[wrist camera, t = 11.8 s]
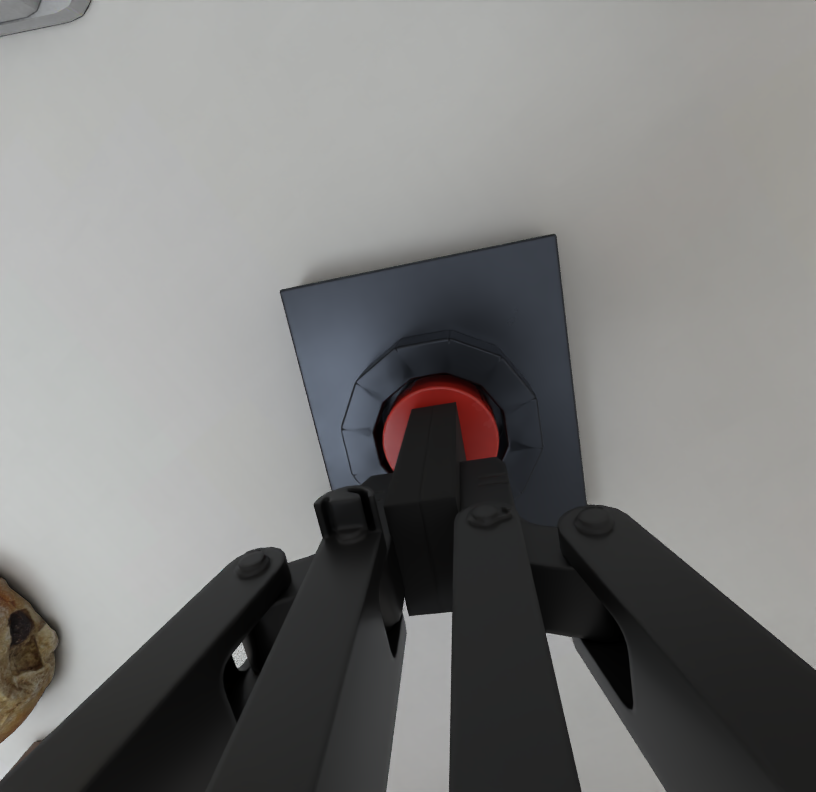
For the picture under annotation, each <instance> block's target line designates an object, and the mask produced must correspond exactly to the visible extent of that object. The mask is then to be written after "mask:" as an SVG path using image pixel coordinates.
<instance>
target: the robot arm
mask: <svg viewBox="0 0 816 792" xmlns="http://www.w3.org/2000/svg"><path fill="white" fill-rule="evenodd" d="M314 508H315V512H316V515H317V519H318V523H319V526H320V530H321V534H322V537H323V539H322V541H321V543H320V545H319V547H318V550H317V552H316V554H314V555H311V556H308V557H305V558H302V559H299V560H296V561H293V562H290V563H288V562H287V559H286V556H285V553H284V552H283V551H282V550H281V549H279V548H274V547H267V548H257V549H255V550H254V549H253V550H251V551H248V552H246V553H245V554H243V555H241V556H239V557H237V558H236V559H235V560H233V561H232V562H231V563H229V564H228V565H227V566H226V567H225V568H224V569H223V570H222V571H221V572H220V573H219V574H218V575H217V576H215V577H214V578H213V579H212V580H211V581H210V582H209V583H208V584H207V585H206V586H205V587H204V588H203V589H202V590H201V591H200V592H199V593H198V594H197V595H196V596H194V597H193V598H192V599H191V600H190V601H189V602H188V603H187V604H186V605H185V606H184V607H183V608H182V609H181V610H180V611H179V612H178V613H177V614H176V615H174V616H173V617H172V618H171V619H170V620H169V621H168V622H167V623H166V624H165V625H164V626H163V627H162V628H161V629H160V630H159V631H158V632H157V633H156V634H154V635H153V636H152V637H151V638H150V639H149V640H148V641H147V642H146V643H145V644H144V645H143V646H142V647H141V648H140V649H139V650H138V651H137V652H136V653H134V654H133V655H132V656H131V657H130V658H129V659H128V660H127V661H126V662H125V663H124V664H123V665H122V666H121V667H120V668H119V669H118V670H117V671H116V672H115V673H113V674H112V675H111V676H110V677H109V678H108V679H107V680H106V681H105V682H104V683H103V684H102V685H101V686H100V687H99V688H98V689H97V690H96V691H95V692H93V693H92V694H91V695H90V696H89V697H88V698H87V699H86V700H85V701H84V702H83V703H82V704H81V705H80V706H79V707H78V708H77V709H76V710H75V711H73V712H72V713H71V714H70V715H69V716H68V717H67V718H66V719H65V720H64V721H63V722H62V723H61V724H60V725H59V726H58V727H57V728H56V729H55V730H54V731H52V732H51V733H50V734H49V735H48V736H47V737H46V738H45V739H44V740H43V741H42V742H41V743H40V744H39V745H38V746H37V747H36V748H35V749H34V750H32V751H31V752H30V753H29V754H28V755H27V756H26V757H25V758H24V759H23V760H22V761H21V762H20V763H19V764H18V765H17V766H16V767H15V768H14V769H12V770H11V771H10V772H9V773H8V774H7V775H6V776H5V777H4V778H3V779H2V780H1V781H0V792H386V788H387V781H388V773H389V765H390V757H391V750H392V742H393V734H394V726H395V719H396V711H397V703H398V696H399V688H400V680H401V672H402V665H403V657H404V649H405V641H406V634H407V633H406V625H405V621H404V617H403V613H402V610H403V603H404V597H405V601H406V605H407V610H408V614H409V616H414V615H424V614H435V613H445V612H452V660H451V716H450V771H449V792H581V787H580V783H579V778H578V774H577V770H576V765H575V761H574V756H573V752H572V748H571V743H570V739H569V734H568V730H567V726H566V721H565V717H564V712H563V708H562V703H561V699H560V695H559V690H558V686H557V681H556V677H555V673H554V668H553V664H552V659H551V655H550V651H549V646H548V642H547V637H546V633H551V634H557V635H563V636H569V637H572V639H573V642H574V645H575V648H576V650H577V651H578V653H579V655H580V656H581V658H582V659H583V661H584V662H585V664H586V666H587V667H588V669H589V670H590V672H591V673H592V675H593V677H594V678H595V680H596V681H597V683H598V684H599V686H600V688H601V689H602V691H603V692H604V694H605V695H606V697H607V699H608V700H609V702H610V703H611V705H612V706H613V708H614V710H615V711H616V713H617V714H618V716H619V717H620V719H621V721H622V722H623V724H624V725H625V727H626V728H627V730H628V732H629V733H630V735H631V736H632V738H633V739H634V741H635V743H636V744H637V746H638V747H639V749H640V750H641V752H642V754H643V755H644V757H645V758H646V760H647V761H648V763H649V765H650V766H651V768H652V769H653V771H654V772H655V774H656V776H657V777H658V779H659V780H660V782H661V784H662V785H663V787H664V788H665V790H666V791H667V792H816V670H815V669H814V668H812V667H811V666H810V665H809V664H808V663H806V662H805V661H804V660H803V659H802V658H800V657H799V656H798V655H797V654H796V653H794V652H793V651H792V650H791V649H789V648H788V647H787V646H786V645H785V644H783V643H782V642H781V641H780V640H779V639H777V638H776V637H775V636H774V635H773V634H771V633H770V632H769V631H768V630H766V629H765V628H764V627H763V626H762V625H760V624H759V623H758V622H757V621H756V620H754V619H753V618H752V617H751V616H750V615H748V614H747V613H746V612H745V611H744V610H742V609H741V608H740V607H739V606H737V605H736V604H735V603H734V602H733V601H731V600H730V599H729V598H728V597H727V596H725V595H724V594H723V593H722V592H721V591H719V590H718V589H717V588H716V587H715V586H713V585H712V584H711V583H710V582H708V581H707V580H706V579H705V578H704V577H702V576H701V575H700V574H699V573H698V572H696V571H695V570H694V569H693V568H692V567H690V566H689V565H688V564H687V563H685V562H684V561H683V560H682V559H681V558H679V557H678V556H677V555H676V554H675V553H673V552H672V551H671V550H670V549H669V548H667V547H666V546H665V545H664V544H663V543H661V542H660V541H659V540H658V539H656V538H655V537H654V536H653V535H652V534H650V533H649V532H648V531H647V530H646V529H644V528H643V527H642V526H641V525H640V524H638V523H637V522H636V521H635V520H633V519H632V518H631V517H630V516H629V515H627V514H626V513H624V512H622V511H620V510H618V509H616V508H612V507H608V506H603V505H586V506H581V507H576V508H574V509H571V510H569V511H566V512H565V513H564V514H563V515H562V516H560V517H559V520H558V524H557V527H553V526H543V525H537V524H534V523H530V522H528V521H526V520H524V519H523V518H522V517H520V516H519V514H518V512H517V510H516V508H515V503H514V499H513V495H512V490H511V486H510V482H509V477H508V472H507V468H506V464H505V463H504V462H503V461H501V460H500V459H499V458H497V457H490V458H483V459H476V460H469V461H467V460H466V455H465V449H464V444H463V438H462V433H461V427H460V421H459V416H458V410H457V405H456V402H452V403H446V404H440V405H434V406H428V407H421V408H415V409H411V413H410V416H409V420H408V423H407V427H406V430H405V434H404V437H403V441H402V444H401V447H400V451H399V454H398V458H397V461H396V465H395V468H394V472H393V473H387V474H380V475H373V476H370V477H369V478H368V479H367V480H366V481H365V482H363V483H362V484H361V485H353V486H346V487H342V488H338V489H335V490H333V491H330V492H328V493H326V494H325V495H323V496H321V497H320V498H319V499H318V500H317V501H316V502H315V503H314ZM241 642H242V643H243V646H244V649H245V652H246V655H247V657H248V658H247V660H246V661H245V662H244V664H243V665H242V666H240V667H239V668H237V667H236V666H235V663H234V660H233V657H232V653H233V652H234V651H235V650H236V648H237V647H238V646H239V645H240V644H241Z"/></svg>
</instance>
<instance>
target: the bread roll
mask: <svg viewBox="0 0 816 792" xmlns="http://www.w3.org/2000/svg"><path fill="white" fill-rule="evenodd" d="M58 644H59V641H58V636H57V635H56V631H54V630H52V629H51V628H50V627H49V625H48V624H47V623H46V622H45V621H44V620H43V619H42V618H41V616H40V615H39V614H38V613H37V612H36V611H35V610H34V609H33V607H32V606H31V605H30V603H29V602H28V601H27V600H25V599H24V598H23V597H21V596H20V595H19V594H18V593H16V592H15V591H14V590H12V589H11V588H10V587H9V586H8V584H7V582H6V580H5V579H3V578H1V577H0V743H1V742H3V741H4V740H5V739H6V738H7V737H8V736H9V735H11V734H12V733H13V732H14V731H15V730H16V729H17V728H18V727H19V726H20V725H21V724H22V723H23V721H24V720H25V719H26V718H27V717H28V715H29V714H30V713H31V712H32V710H33V709H34V707H35V706H36V704H37V702H38V701H39V699H40V697H41V696H42V694H43V692H44V691H45V688H46V687H47V686H48V685H49V683H50V682H51V680H52V678H53V675H54V673H55V655H54V650H55V649H56V647H57V646H58Z"/></svg>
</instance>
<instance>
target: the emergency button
mask: <svg viewBox="0 0 816 792" xmlns="http://www.w3.org/2000/svg"><path fill="white" fill-rule="evenodd" d="M89 3H90V0H0V36H3V35H8V34H13V33H18V32H23V31H28V30H33V29H37V28H42V27H47V26H52V25H57V24H62V23H67V22H71V21H73V20H74V19H76V18H78V17H80V16H82V15H83V14H84V12H85V10H86V8H87V7H88V5H89Z"/></svg>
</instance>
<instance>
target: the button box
mask: <svg viewBox="0 0 816 792" xmlns="http://www.w3.org/2000/svg"><path fill="white" fill-rule="evenodd" d="M280 295H281V298H282V302H283V306H284V310H285V314H286V318H287V321H288V325H289V329H290V333H291V337H292V341H293V344H294V348H295V352H296V356H297V360H298V364H299V367H300V371H301V375H302V379H303V383H304V387H305V390H306V394H307V398H308V402H309V406H310V410H311V413H312V417H313V421H314V425H315V429H316V433H317V436H318V440H319V444H320V448H321V452H322V455H323V459H324V463H325V467H326V471H327V475H328V478H329V482H330V486H331V490H332V491H333V490H335V489H338V488H342V487H346V486H353V485H361V484H362V483H363V482H365V481H366V480H367V479H368V478H369V477H370V476H373V475H380V474H387V473H393V472H394V471H393V470H392V468H391V467H390V465H389V464H388V461H387V459H386V457H385V453H384V450H383V440H382V436H383V429H384V425H385V422H386V419H387V417H388V415H389V412H390V410H391V407H392V405H393V403H394V401H395V399H396V398H397V396H398V395H399V394H400V393H401V391H402V390H404V389H405V388H406V387H407V386H408V385H410V384H411V383H413V382H414V381H416V380H418V379H421V378H423V377H429V376H435V375H451V376H454V377H457V378H460V379H463V380H466V381H468V382H470V383H472V384H473V385H475V386H476V387H477V388H479V389H480V390H481V391H482V392H483V394H484V395H485V396H486V397H487V399H488V400H489V402H490V404H491V406H492V409H493V411H494V415H495V420H496V424H497V428H498V433H499V449H498V455H497V458H499V459H500V460H501V461H503V462H504V463H505V464H506V468H507V472H508V477H509V482H510V486H511V490H512V495H513V499H514V503H515V508H516V510H517V512H518V514H519V516H520V517H522V518H523V519H524V520H526V521H528V522H530V523H534V524H537V525H543V526H553V527H557V524H558V520H559V517H560V516H562V515H563V514H564V513H565V512H566V511H569V510H571V509H574V508H576V507H581V506H586V505H587V501H586V492H585V483H584V475H583V466H582V457H581V448H580V439H579V431H578V422H577V413H576V404H575V395H574V387H573V378H572V369H571V360H570V351H569V343H568V334H567V325H566V316H565V307H564V299H563V290H562V281H561V272H560V263H559V255H558V246H557V237H556V234H550V235H545V236H540V237H535V238H530V239H526V240H521V241H516V242H511V243H506V244H501V245H496V246H491V247H487V248H482V249H477V250H472V251H467V252H462V253H457V254H452V255H448V256H443V257H438V258H433V259H428V260H423V261H418V262H413V263H409V264H404V265H399V266H394V267H389V268H384V269H379V270H374V271H370V272H365V273H360V274H355V275H350V276H345V277H340V278H335V279H331V280H326V281H321V282H316V283H311V284H306V285H301V286H296V287H292V288H287V289H282V290H280Z"/></svg>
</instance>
